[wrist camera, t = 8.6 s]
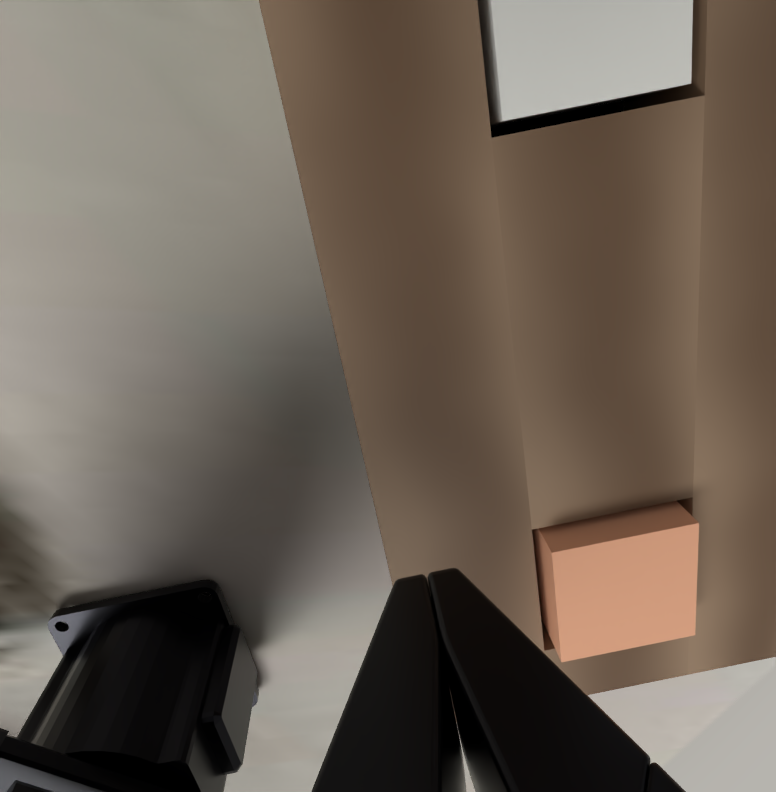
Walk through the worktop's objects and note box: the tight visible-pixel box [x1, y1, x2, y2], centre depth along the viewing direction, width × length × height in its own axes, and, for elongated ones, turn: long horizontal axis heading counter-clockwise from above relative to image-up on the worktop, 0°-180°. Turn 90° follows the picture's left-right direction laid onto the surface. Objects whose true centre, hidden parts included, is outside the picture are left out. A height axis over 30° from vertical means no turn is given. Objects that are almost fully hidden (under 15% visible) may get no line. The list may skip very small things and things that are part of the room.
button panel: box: [259, 0, 776, 722], centre depth 17 cm, size 14×26×4 cm, turn 10°
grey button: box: [477, 0, 693, 127], centre depth 14 cm, size 4×4×4 cm
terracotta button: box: [532, 501, 699, 662], centre depth 19 cm, size 4×4×4 cm
